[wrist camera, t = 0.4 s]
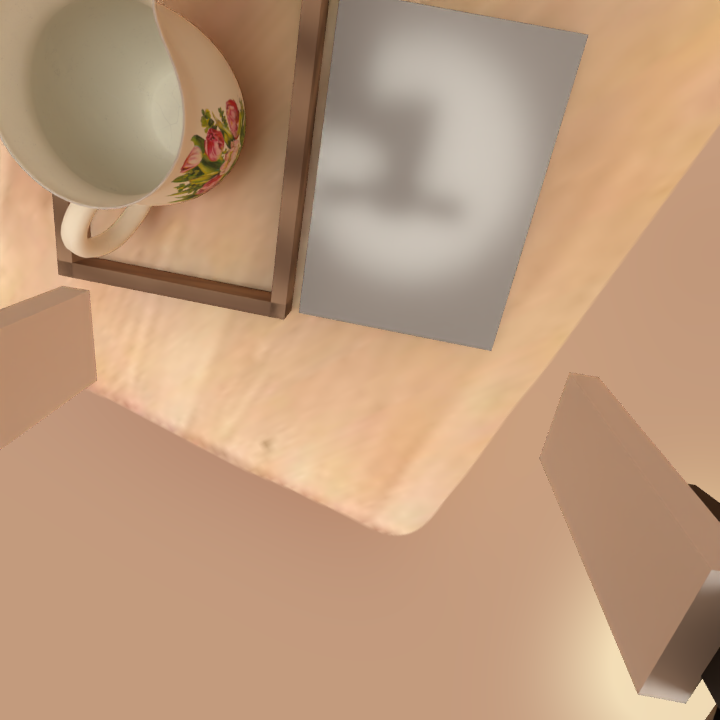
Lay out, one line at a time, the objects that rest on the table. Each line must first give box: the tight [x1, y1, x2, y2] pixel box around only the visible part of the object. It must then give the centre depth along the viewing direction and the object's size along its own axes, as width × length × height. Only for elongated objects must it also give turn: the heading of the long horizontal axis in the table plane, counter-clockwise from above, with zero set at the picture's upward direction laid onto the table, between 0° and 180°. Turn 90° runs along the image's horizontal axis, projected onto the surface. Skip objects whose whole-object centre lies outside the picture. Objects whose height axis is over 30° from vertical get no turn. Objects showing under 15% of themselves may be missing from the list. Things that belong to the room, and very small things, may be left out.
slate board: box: [299, 0, 588, 351], centre depth 36 cm, size 22×16×1 cm
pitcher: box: [0, 0, 246, 258], centre depth 30 cm, size 11×18×14 cm, turn 150°
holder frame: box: [52, 0, 329, 319], centre depth 35 cm, size 24×18×2 cm
